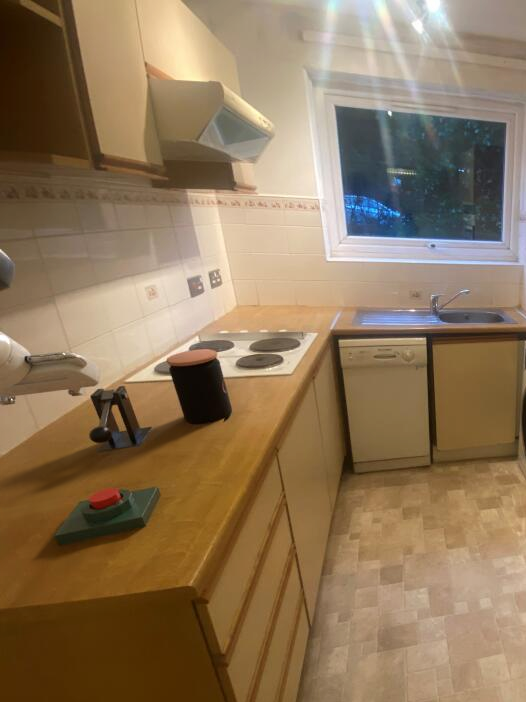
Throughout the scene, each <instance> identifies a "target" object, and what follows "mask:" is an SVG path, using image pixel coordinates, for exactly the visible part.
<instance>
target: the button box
mask: <svg viewBox="0 0 526 702" xmlns="http://www.w3.org/2000/svg"><path fill="white" fill-rule="evenodd" d="M117 489H118V488H117ZM118 490H119V493H120V495H121V500H120V501H118V502H117V503H116V504H114V505H111V506H109V507H106V508H102V509H93V508H92V506H91V503H90V501H89V499H86V500H81V501H79V502H78V503H77V505H76V506H75V507H74V508H73V509H72V511H71V512H70V514H69V515H68V517H67V518H66V519H65V521H63V523H62V524H61V526H59V528H58V530H57V531H56V532H55V534H54V535H53V537H54V540H55V541H56V543H57V545H58V546H65V545H69V544H72V543H78V542H82V541H86V540H92V539H96V538H101V537H104V536H105V537H106V536H110V535H113V534H118V533H123V532H127V531H132V530H136V529H141V528H146V527H147V525H148V523H149V521H150V518H151V517H152V516H153V515H152V514H153V513H154V510H155V508H156V506H157V504H158V502H159V500H160V498H161V496H162V494H161V492H160V488H159V486H158V485H157V486H151V487H147V488H142V489H141V488H140V489H136V490H132V491H130V490H129V489H123V488H122V489H121V488H119V489H118Z"/></svg>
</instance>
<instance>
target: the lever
mask: <svg viewBox="0 0 526 702" xmlns="http://www.w3.org/2000/svg"><path fill="white" fill-rule="evenodd" d="M115 390H116V389H106V390H104V391H103V394H102V397H101V400H102V402H103V403H104V404H105V405H104V408H103V412H102V416H101V420H100V419H99V424H98V426H96V427H93V428H92V429H91V430H90V431H89V433H88V436H89V439H90V441H92V442H93V443H96V444H104V443H105V442H107V441H108V440H110V438H111V437H112V432H111V430H110V429H109V428H107V425H108V422H109V418H110V414H111V410H112V411H113V406H117V403H116V401H115V398H114V396H113V392H114V391H115Z"/></svg>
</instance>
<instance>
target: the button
mask: <svg viewBox="0 0 526 702" xmlns="http://www.w3.org/2000/svg"><path fill="white" fill-rule="evenodd" d="M88 500H89V501H90V503H91V506H92V508H93V509H102V508H106V507H109V506H111V505H114V504H116V503H117V502H118V501H120V500H121V495H120V493H119V490H118V488H116V487H110V488H105V489H101V490H99V491H97V492H95V493H93V494H92V495H90V496H89V498H88Z"/></svg>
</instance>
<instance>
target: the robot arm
mask: <svg viewBox="0 0 526 702" xmlns="http://www.w3.org/2000/svg"><path fill="white" fill-rule="evenodd" d="M15 275H16V264H15V263H14V262H13V261H12V260H11V258H10V257H9V256H8V254H7V253H6V252H4V250H3V249H1V248H0V293H2V292H4V291H6V290H8V289H11V288H12V286H13V284H14V280H15ZM100 381H101V369H100V366H99V365H97V364H96V363H94V362H93V361H91V360H89V359H88V358H86V357H84V356H82V355H80V354H78V353H75V352H71V351H56V352H55V351H54V352H46V353H35V354H31V352H30V351H29V350H28V349H27V348H26V347H24V346H22V345H21V344H20V343H18V342H17V341H16V340H14V339H13V338H11V337H10V336H8V335H7V334H5V333H4V332H3V331H0V406H9V405H15V404H16V398H17V397H18V396H27V395H35V394H42V393H49V392H58V391H67V394H68V395H70V396H72V397H78V396H84V395H85V388H91V387H96V386H98V384H99V383H100Z"/></svg>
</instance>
